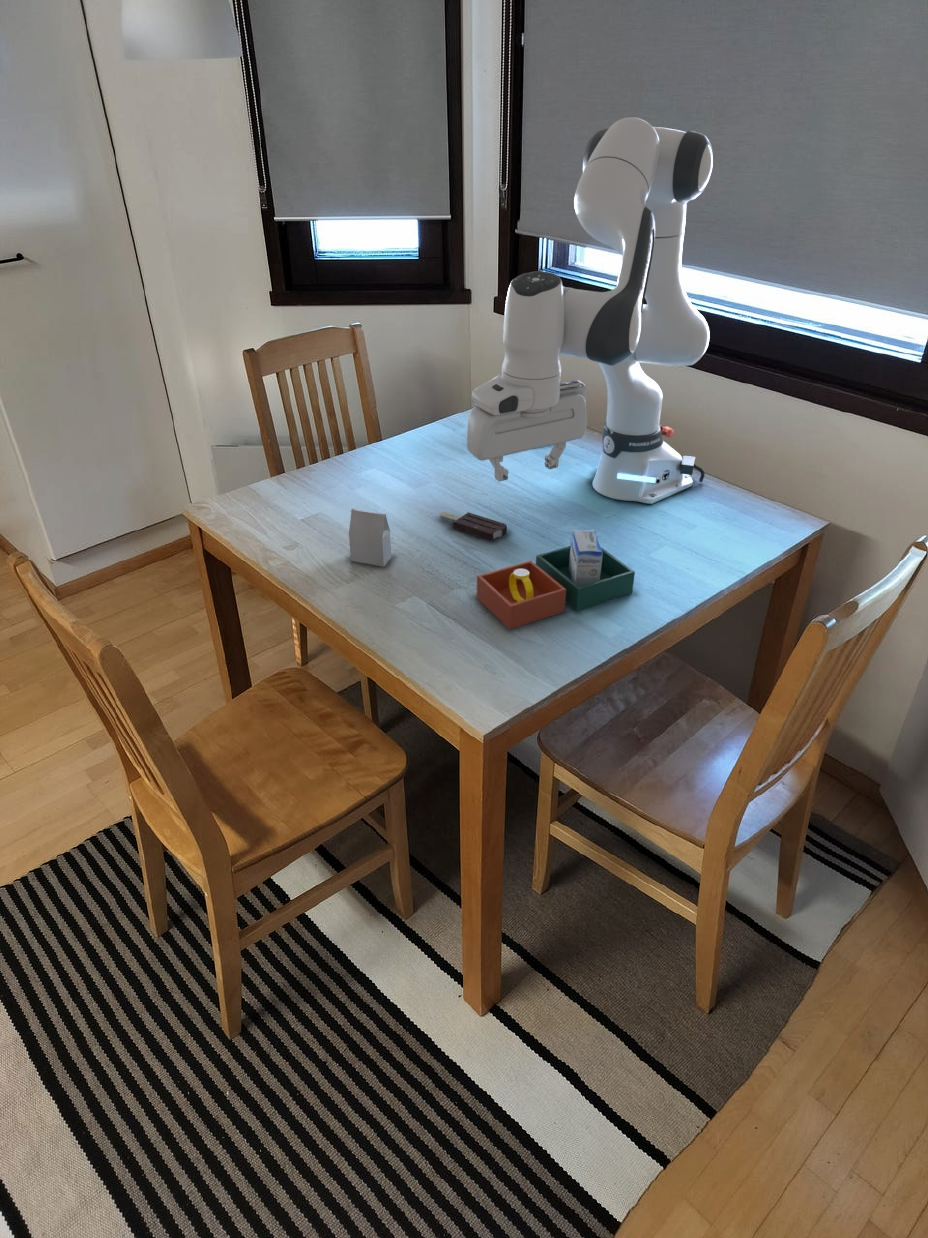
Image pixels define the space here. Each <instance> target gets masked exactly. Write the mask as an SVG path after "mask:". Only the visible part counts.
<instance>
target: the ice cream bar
mask: <svg viewBox="0 0 928 1238" xmlns="http://www.w3.org/2000/svg"><path fill="white" fill-rule="evenodd" d="M439 517H440V518H442V519H445V520H448V521H450V522H452V528H453V529H454V530H457V531H459V532H463V533H466V534H469V535H471V536H475V537H478V538H481V539H484V540H486V541H490V542H491V541H494V540H495V539H498V538H503V537H504V536H506V535H507V533H508V525H507V524H506V523H504V522H501V521H498V520H494V519H491V518H488V517H485V516H483V515H482V516H481V515H478V514H475V513H473V512H469V511H468V512H466V513H464V514H463V515H462V516H459V515H456V514H453V513H450V512H447V511H443V512H440V513H439Z"/></svg>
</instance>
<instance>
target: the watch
mask: <svg viewBox="0 0 928 1238" xmlns="http://www.w3.org/2000/svg"><path fill="white" fill-rule="evenodd" d="M516 579H521V580H522V582H523V583H524V586H525V590H526V600H527V599H530V598H533V596H534V594H533V586H532V583H531V580H530V579H529V571H528V570H526V569H516V570H514V572H513V573H512V574H511V575H510V577H509V588H510V592H511V595H512V597H513V599H514V600H516V601H517V602H520V601H523V600H524V599H523V598H522V597H520V594H519V592H518V590H517V585H516Z"/></svg>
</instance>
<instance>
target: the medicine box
mask: <svg viewBox="0 0 928 1238" xmlns="http://www.w3.org/2000/svg"><path fill="white" fill-rule="evenodd" d="M570 546H571V549H570V559H569V568H568V571H569V574H570V578H571V581H572V582H574V583H575V584H576V585H577V586H579V587H581V586H584V585H587V584H591V583H594V582H597V581H600V573H601V565H602V556H603V552H602V550H601V547H602V546H601V543H600V540H599V537H598V534H597V531H596V530H590V529H587V530H586V529H584V530H583V529H582V530H573V531H572V532H571V541H570Z"/></svg>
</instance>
